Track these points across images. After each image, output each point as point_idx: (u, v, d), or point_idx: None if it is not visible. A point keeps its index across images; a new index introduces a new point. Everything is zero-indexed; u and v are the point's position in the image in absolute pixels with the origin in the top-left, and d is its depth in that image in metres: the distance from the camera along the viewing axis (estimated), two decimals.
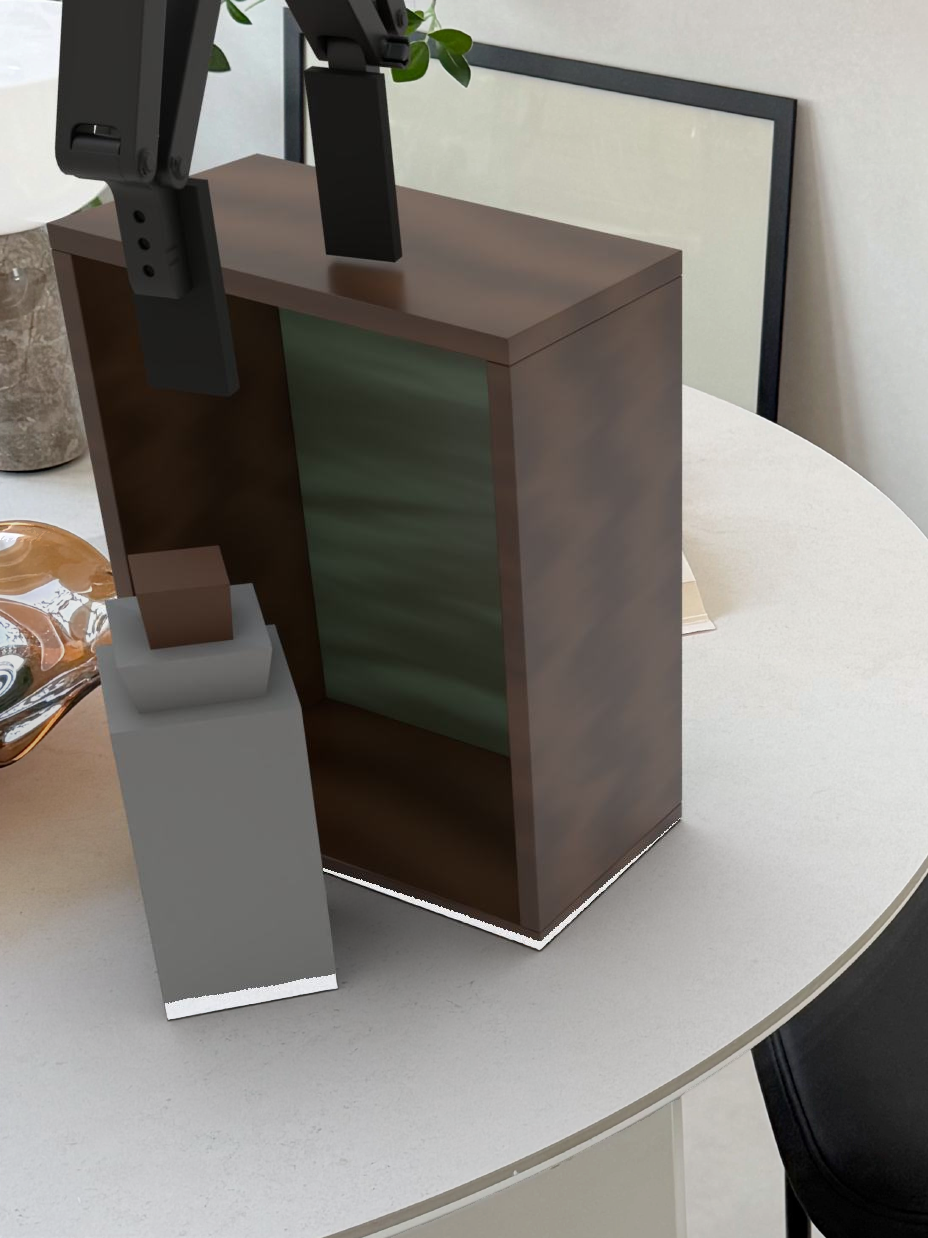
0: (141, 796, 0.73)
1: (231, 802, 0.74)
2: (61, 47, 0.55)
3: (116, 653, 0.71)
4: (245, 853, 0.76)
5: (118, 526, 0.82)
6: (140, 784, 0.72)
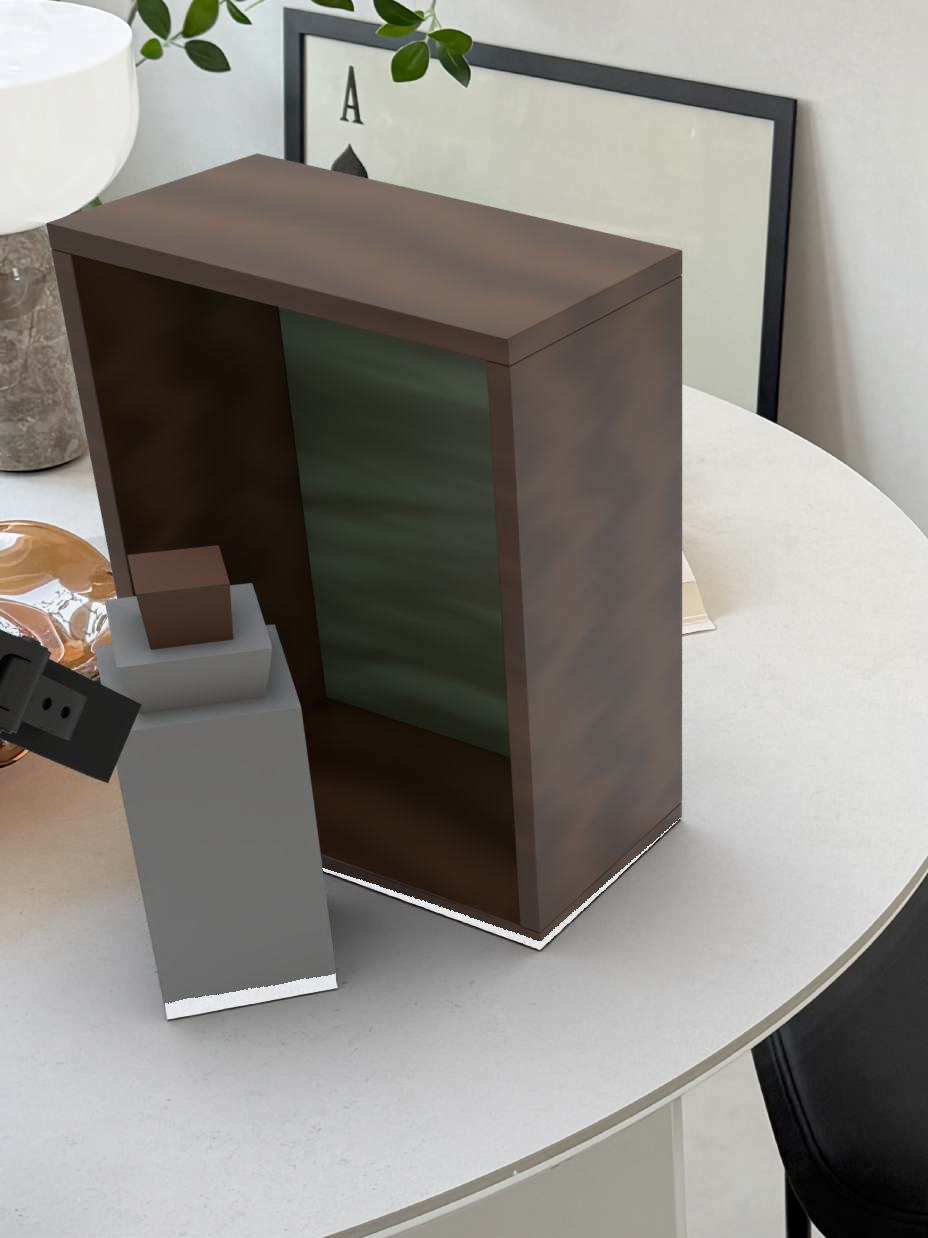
0: (141, 796, 0.73)
1: (231, 802, 0.74)
2: None
3: (116, 653, 0.71)
4: (245, 853, 0.76)
5: (118, 526, 0.82)
6: (140, 784, 0.72)
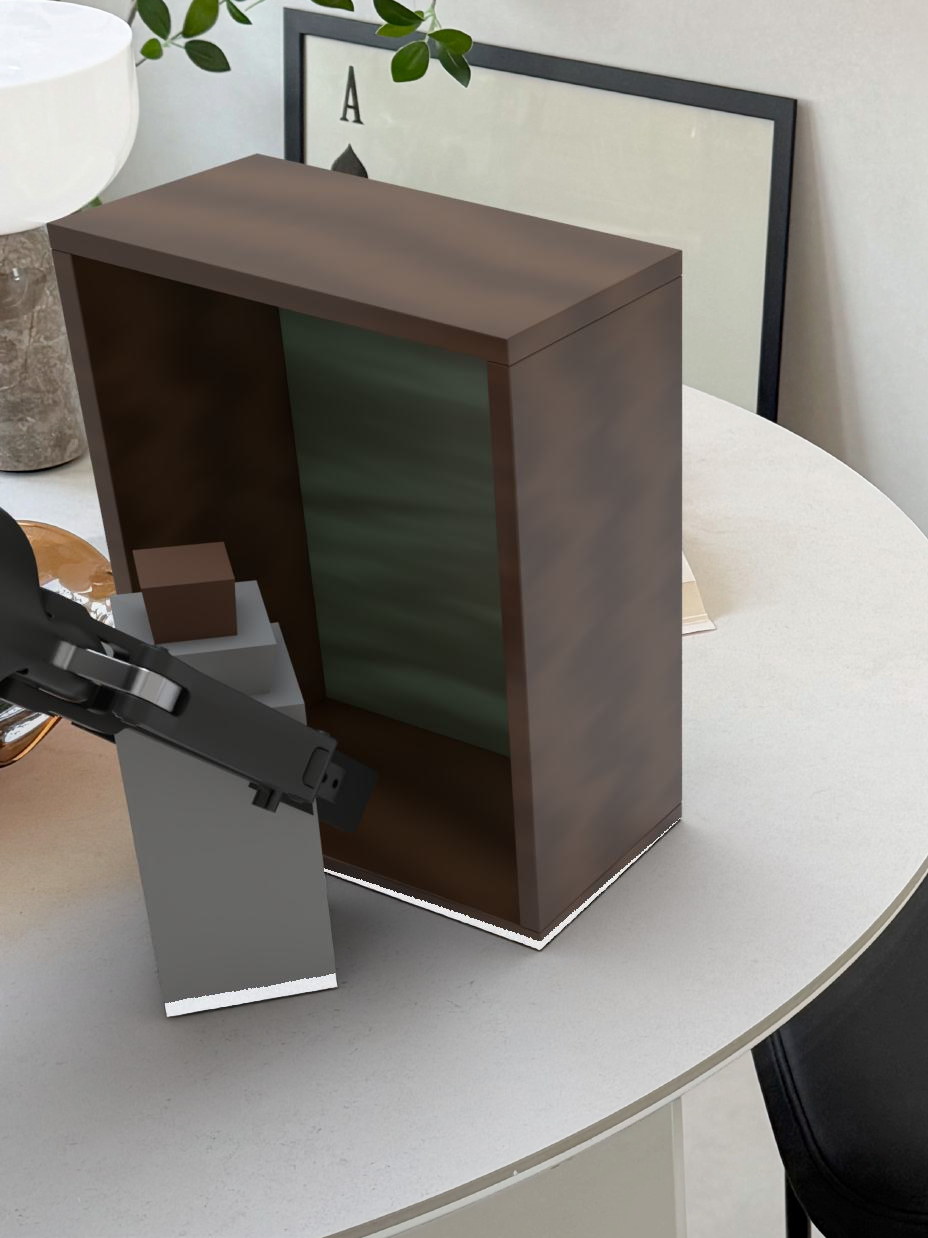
0: (143, 791, 0.73)
1: (233, 798, 0.74)
2: (257, 775, 0.68)
3: None
4: (246, 849, 0.76)
5: (118, 526, 0.82)
6: (142, 779, 0.72)
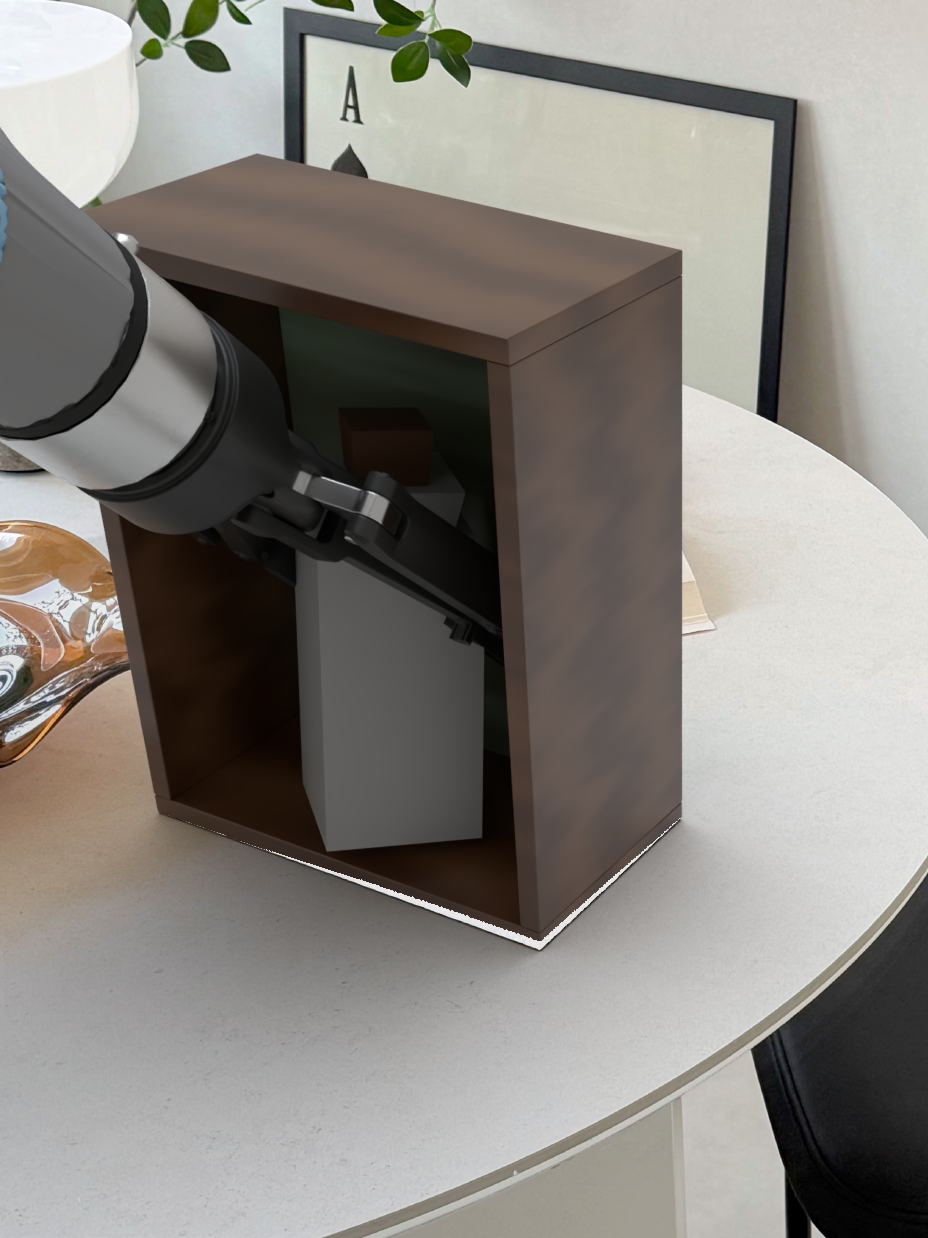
0: (335, 620, 0.80)
1: (412, 637, 0.82)
2: (462, 602, 0.76)
3: None
4: (418, 689, 0.83)
5: (118, 526, 0.82)
6: (336, 608, 0.80)
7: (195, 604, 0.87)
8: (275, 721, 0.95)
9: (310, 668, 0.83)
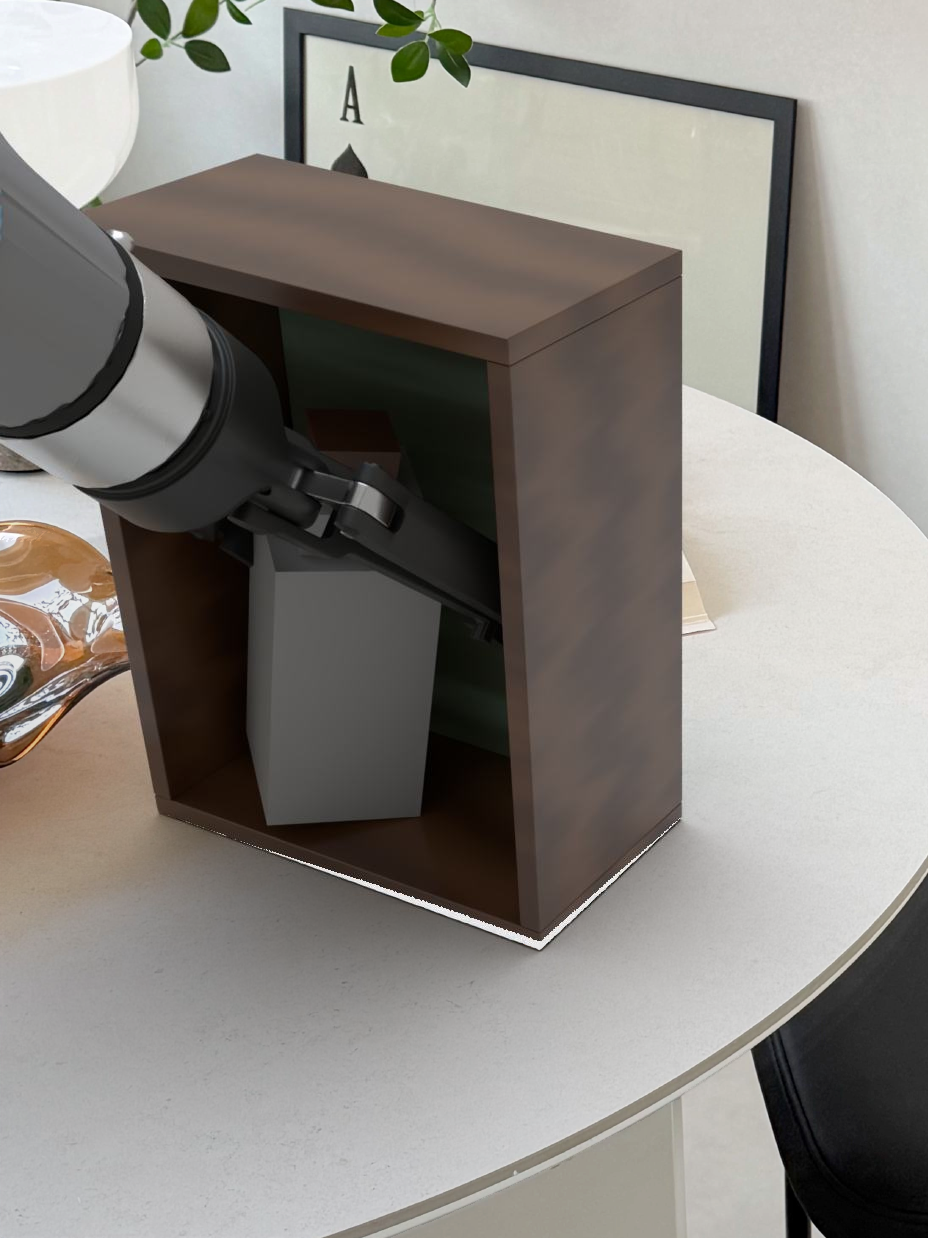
0: (290, 629, 0.80)
1: (366, 645, 0.82)
2: (472, 598, 0.75)
3: None
4: (367, 690, 0.84)
5: (118, 526, 0.82)
6: (291, 619, 0.80)
7: (195, 604, 0.87)
8: None
9: (261, 652, 0.84)
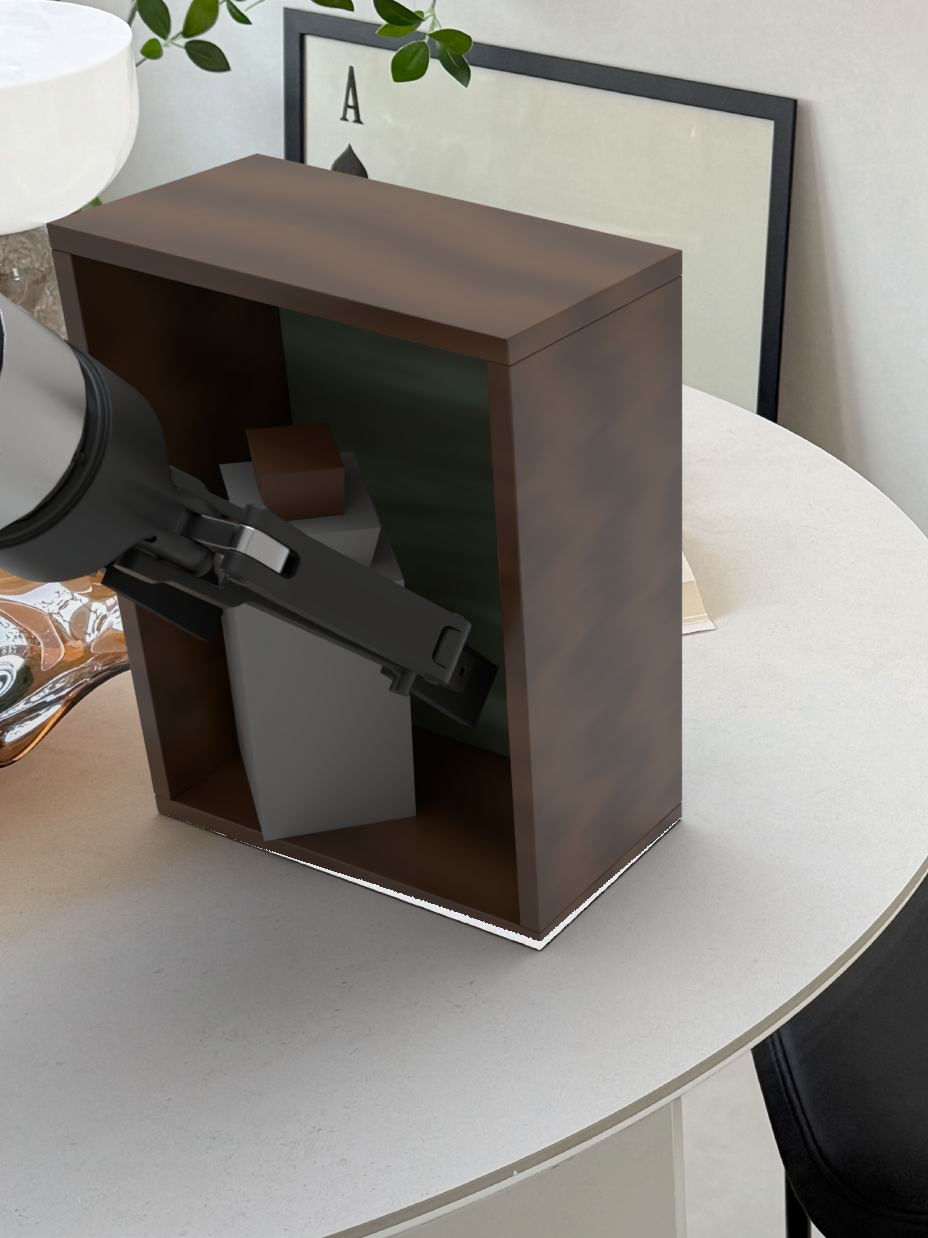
0: (257, 654, 0.80)
1: (335, 660, 0.82)
2: (381, 648, 0.70)
3: None
4: (344, 702, 0.84)
5: None
6: (256, 644, 0.80)
7: None
8: None
9: (236, 673, 0.84)
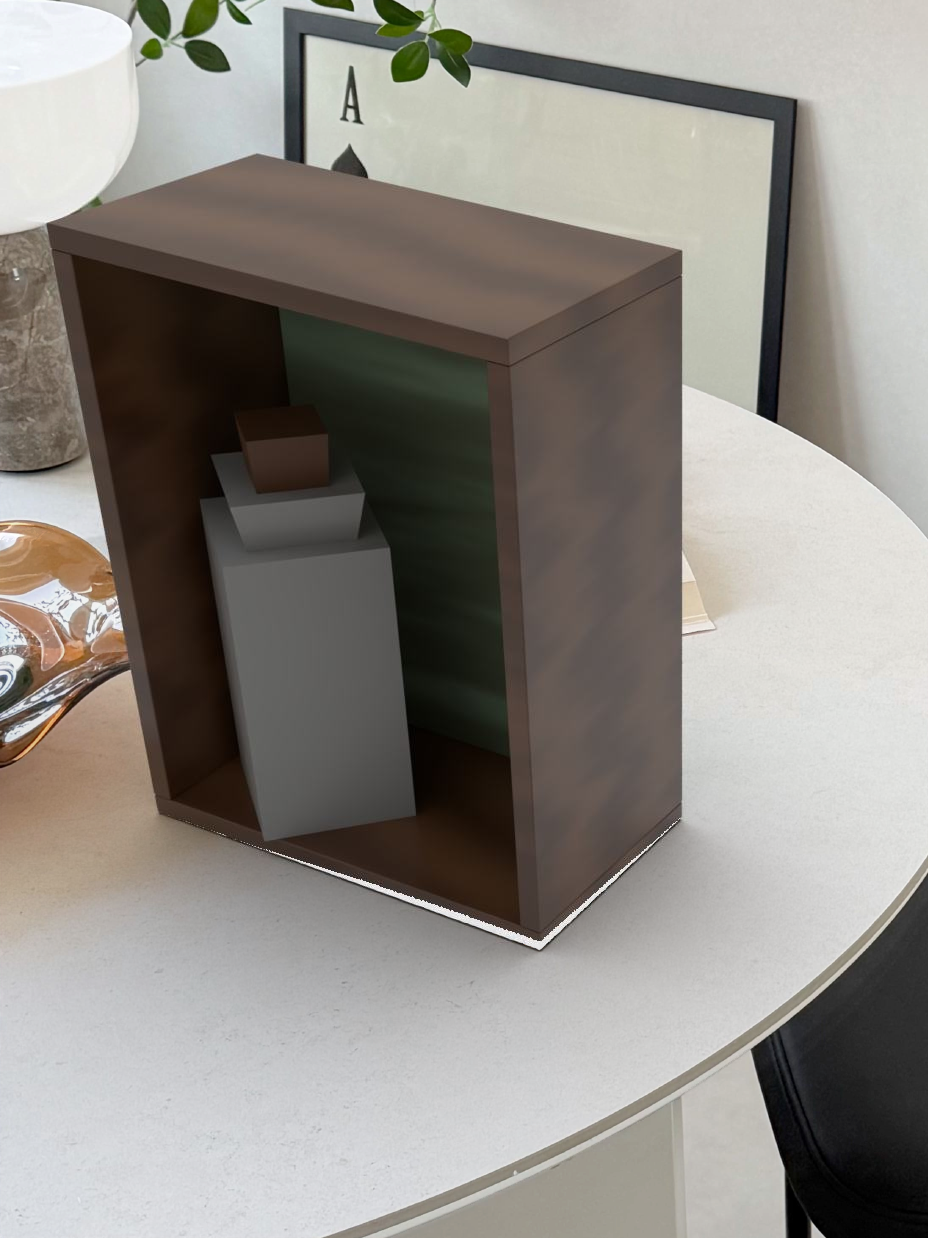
0: (248, 627, 0.81)
1: (326, 636, 0.83)
2: None
3: (227, 496, 0.80)
4: (337, 684, 0.84)
5: (118, 526, 0.82)
6: (247, 616, 0.81)
7: (195, 604, 0.87)
8: None
9: (232, 666, 0.85)
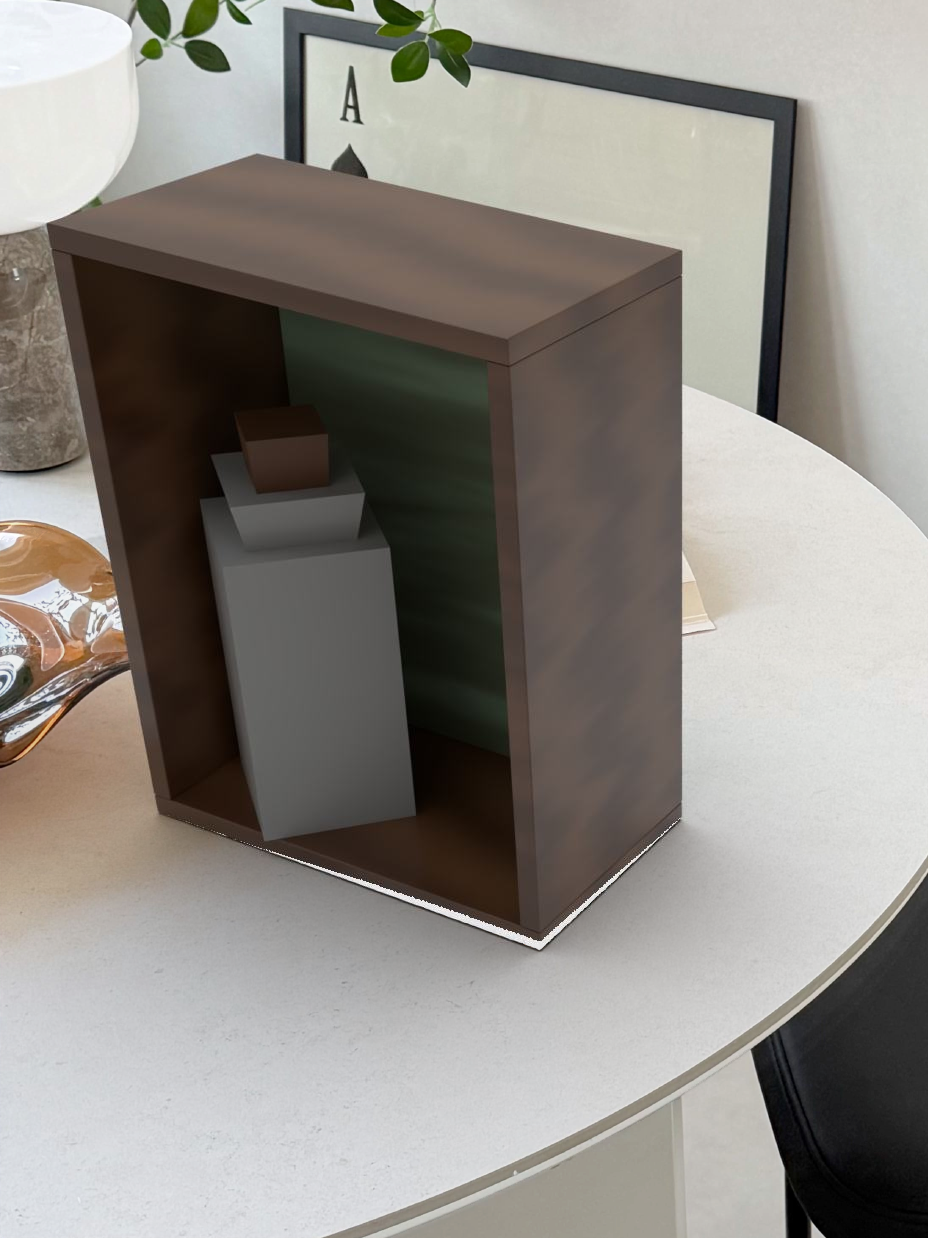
0: (248, 627, 0.81)
1: (326, 635, 0.83)
2: None
3: (227, 496, 0.80)
4: (337, 684, 0.84)
5: (118, 526, 0.82)
6: (247, 616, 0.81)
7: (195, 604, 0.87)
8: None
9: (232, 666, 0.85)
